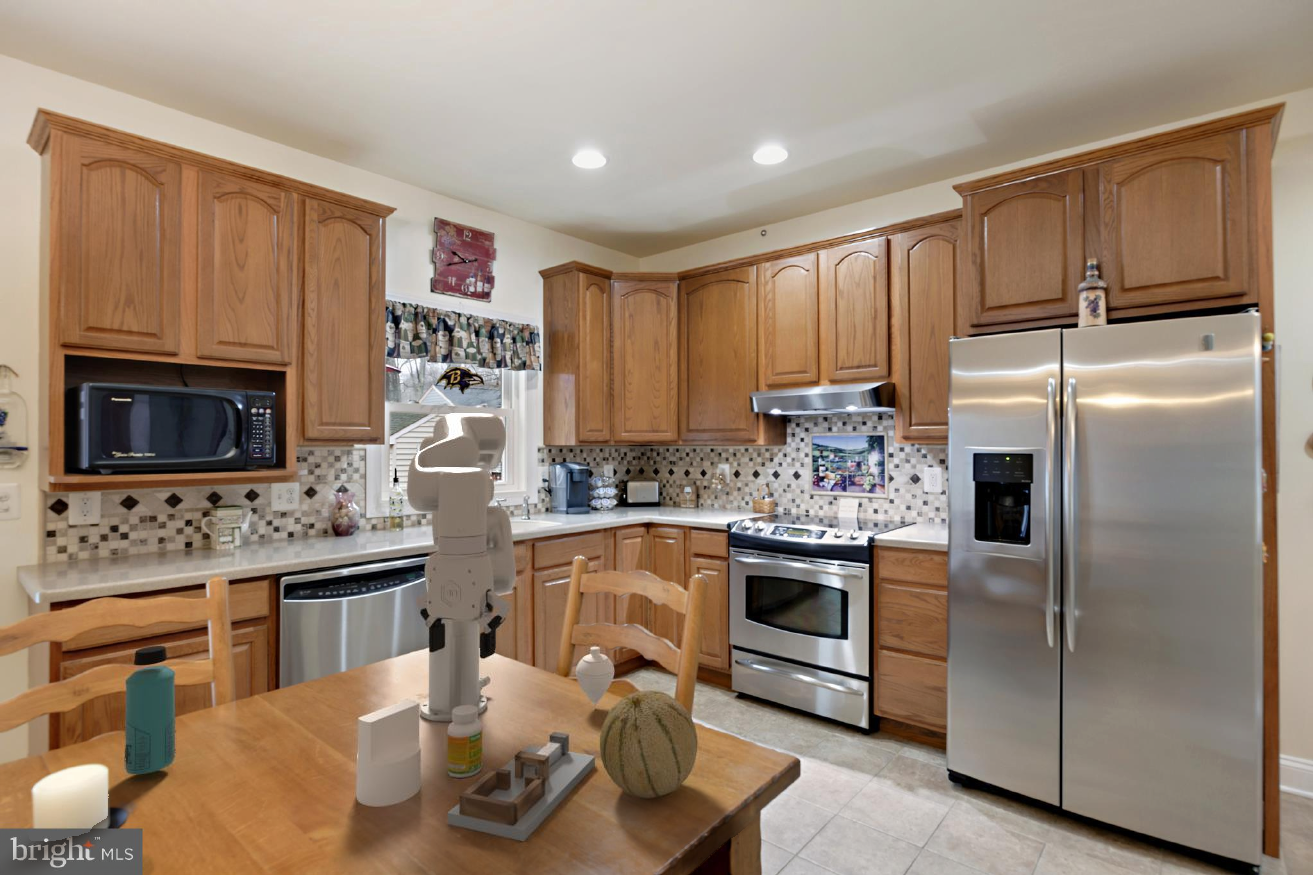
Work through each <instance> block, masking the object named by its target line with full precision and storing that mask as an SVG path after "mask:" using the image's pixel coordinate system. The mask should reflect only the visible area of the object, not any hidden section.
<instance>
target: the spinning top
mask: <svg viewBox="0 0 1313 875" xmlns="http://www.w3.org/2000/svg"><path fill="white" fill-rule="evenodd" d="M589 651H590V653H589V654H587V655H585V656H582V658H581V659H580V661H579V662H578V663H577V665H576V669H575V677H576V681H577V683H578V684H579V687H580V688H581V690H582V691H583V693H584V695H585V696H586V697H587V698H588V699H589V701H590V702H591V703H592V704H593V708H594V709H597V704H598V703H599V701H601V699H603V697H604V695H605V694H606V692H607V691H608V689H609V687H610V686H611V684H612V681H613V679H614V676H615V667H614V664H613V662H612V660H610V659H609V657H608V656H607V655H605V654H602V653H600V652H601V647H599V646H592V647H590V650H589Z"/></svg>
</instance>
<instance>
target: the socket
mask: <svg viewBox="0 0 1313 875" xmlns="http://www.w3.org/2000/svg"><path fill="white" fill-rule="evenodd" d="M510 788H511V770H505V769H502V768H501V767H500V768H499V767H493V769H491V770H490V771H489V772H487V773H486V774H485V775H484V776H482V777H481V778H479V780H477V781H476V782H475V783H474V784H473V785H471V786H470V787H469V788H467V789H466V790H465V791H464V792H462V793H461V794H460V795H459V796H458V797H459V800H458V801H459V802H458V804H459V814H460V815H465V816H469V817H474V818H478V819H483V820H487V821H492V822H496V823H501V824H505V825H510V826H514V825H515V824H516V823H517V822H518V821H519V820H520V819H521V818H522V817H523V816H524V815H525V814H526V813H527V812H528V811H529V810H530V809H531V808H532V807H533V806H534V805H535V804H536V803H537V802H538V801H539V800H540V799H541V798H542V797H543V796H544V795H545V777H542V776H537V775H532V774H528V775H527V776H526V777H525V789H524V790H523V791H522V792H521V793H520V794H519V795H518V796H517V797H516V798H515V799H514V800H513V801H512V802H508V801H504V800H499V799H494V798H489V797H488V796H489V795H490V794H491V793H492V792H494V791H495V790H496V789H500V790H505V791H507V790H509V789H510Z"/></svg>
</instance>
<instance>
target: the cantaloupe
mask: <svg viewBox="0 0 1313 875" xmlns="http://www.w3.org/2000/svg"><path fill="white" fill-rule="evenodd" d="M698 743H699V742H698V734H697V730H696V725H695V722H694V721H693V718H692V716H691V714H690V713H689V711H688V710H687V708H685V706H684V705H683V704H682V703H681V702H680V701H678V700H677V699H676V698H674V697H672V695H669V694H668V693H665V692H664V691H661V690H653V689H652V690H641V691H639V690H638V691H636V692H634V693H631V694H629V695H627V696H625V697H624V698H622V699H621V700H619V701H618V702H616V703H615V704H614V705H613V706H612V707H611V708H610V710H608V713H607V715H606V717H605V720H604V722H603V725H602V727H601V730H600V737H599V752H600V759H601V762H602V765H603V768H604V769H605V772H606V773H607V775H608V777H610V779H611V781H612V782H613V783H614V784H615V785H616V786H617V787H618V788H620V790H622V791H623V792H624V793H626V794H628V795H630V796H634V797H639V798H644V799H652V798H656V797H659V796H660V797H661V796H664V795H668V794H670V793H671V792H672V791H674V790H675V789H677V788H678V787H680V786H681V785H682V784H683V783H684V782H685V781H686V780H687V779H688V777H689V776H690V775H691V773H692V769H693V768H694V766H695V763H696V758H697V753H698V746H699V744H698Z"/></svg>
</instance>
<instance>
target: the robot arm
mask: <svg viewBox="0 0 1313 875" xmlns="http://www.w3.org/2000/svg"><path fill="white" fill-rule="evenodd" d="M433 426H434V427H433V431H432V435H428V436H427V437H425V438H424V439H423V440H422V441H421V443H420V444H419V449H418V450H419V451H418V452H417V453H416V454H415V455H414V456H413V458H412V459H411V462H410V463H409V467H408V471H407V482H406V484H407V485H406V495H407V501H408V503H409V505H410V507H411V508H412V509H413V510H415V511H417V512H420V513H431V521H432V522H431V526H432V527H431V529H432V530H431V532H432V540H433V545H434V546H435V547H436V548H437V551H436V552H434V553H432V554H431V555H430V556H429V557H428V558H427V560H426V562H425V565H424V578H425V586H426V592H424V593H423V594H420V595H418V596H417V597H416V599H415V602H416V604H417V606H418V609H419V610H420V611H419V615H420V616H421V617H422V619H423V620H424V621H425V626H426V627H427V628H428V699H427V700H425V701H424V702H423V703H421V704H420V711H419V714H420V716H421V717H422V718H424V719H426V720H429V721H432V722H433V721H434V722H453V721H452V710H453V709H454V708H456V707H458V706H462V705H473V706H476V707H477V708H478V715H479V714H481V713H483V712H484V711H485V710H486V708H487V707H488V699H487V697H485V696H484V695H482V694H481V692H482V690H483V688H484V687H486V686H488V685H490V683H491V678H490V676H488V675H484V676H481V677H480V659H483V660H486V659H487V658H489V657H491V656H494V655H495V653H496V648H497V645H496V644H497V630H498V629H499V628H500V627H501V625H502V624H503V623H504V621H506V616H507V615H508V613H509V611H510V609H511V604H510V603H509V602H508V601H507V600H505V599H504V598H502V597H501V596H499V595H504V594H507V593H510V591H511V590H513V588H514V587H515V585H516V580H517V566H516V557H515V548H514V539H513V532H512V524H511V520H510V519H511V518H510V515H509V513H508V512H507V510H506V509H504V508H503V507H501V506H498V505H497V506H496V505H490V503H491V502H492V501H493V500H494V496H495V495H494V494H495V481H494V478H493V477H492V476H491V474H490V473H489V471H493V470H496V469H497V468H498V467H499V465H500V463H501V461H502V457H503V454H504V452H505V447H506V444H507V431H506V427H505V424H504V422H503V420H502V419H501V418H500V416H498V415H495V414H492V413H467V412H465V413H462V412H460V413H459V412H457V413H456V412H455V413H448V414H445V415H443V416H441V417H439V419H438V420H436V422H435V424H434V425H433ZM495 608H496V613H495V616H494V614H493V613H494V609H495ZM480 629H481V630H482V632H480Z"/></svg>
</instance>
